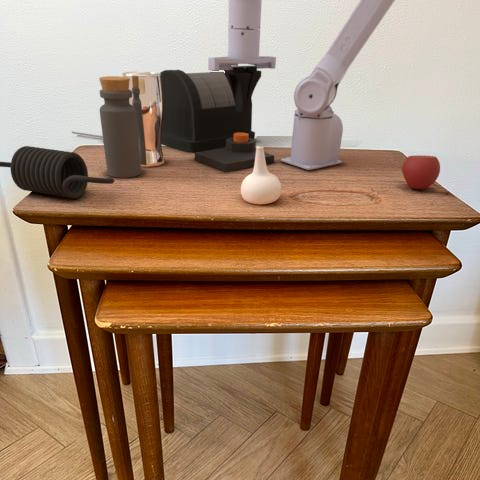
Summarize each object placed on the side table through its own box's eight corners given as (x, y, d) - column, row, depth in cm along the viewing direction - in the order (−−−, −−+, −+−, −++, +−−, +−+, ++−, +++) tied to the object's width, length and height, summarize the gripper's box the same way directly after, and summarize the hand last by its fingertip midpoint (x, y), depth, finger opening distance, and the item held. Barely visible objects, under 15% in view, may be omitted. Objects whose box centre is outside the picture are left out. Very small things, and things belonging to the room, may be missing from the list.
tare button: (241, 139, 94) (242, 131, 93) (251, 142, 92) (251, 134, 92) (230, 141, 93) (230, 133, 92) (239, 144, 91) (240, 136, 90)
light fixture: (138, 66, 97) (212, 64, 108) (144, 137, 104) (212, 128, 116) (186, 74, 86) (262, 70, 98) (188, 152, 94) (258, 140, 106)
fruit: (395, 193, 78) (446, 196, 74) (400, 157, 75) (453, 159, 72) (401, 188, 82) (449, 191, 79) (406, 154, 80) (455, 156, 77)
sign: (79, 128, 107) (133, 136, 102) (80, 132, 107) (134, 140, 102) (63, 132, 103) (119, 140, 98) (64, 136, 103) (120, 145, 98)
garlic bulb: (288, 201, 71) (293, 148, 67) (258, 209, 68) (261, 153, 63) (262, 190, 75) (265, 139, 71) (232, 197, 72) (233, 144, 68)
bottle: (108, 178, 78) (95, 79, 70) (106, 169, 83) (95, 75, 74) (142, 177, 79) (134, 80, 71) (139, 168, 84) (131, 75, 76)
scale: (242, 150, 97) (243, 135, 96) (276, 162, 91) (278, 146, 89) (192, 159, 91) (192, 143, 89) (225, 172, 84) (225, 155, 82)
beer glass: (141, 169, 83) (133, 76, 75) (123, 161, 88) (113, 72, 79) (173, 164, 87) (169, 74, 79) (154, 156, 91) (149, 70, 83)
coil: (127, 189, 71) (95, 236, 70) (32, 134, 75) (1, 178, 75) (106, 165, 64) (71, 217, 63) (3, 106, 68) (-31, 155, 68)
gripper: (260, 28, 88) (256, 105, 96) (197, 27, 81) (199, 111, 88) (285, 30, 84) (279, 111, 91) (222, 29, 76) (221, 117, 84)
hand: (241, 111), depth 89 cm, fingers closed
